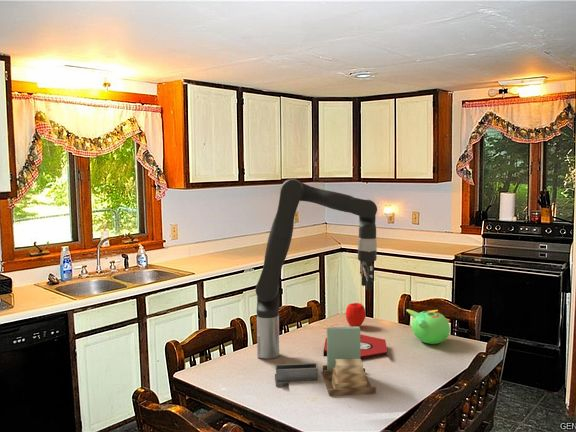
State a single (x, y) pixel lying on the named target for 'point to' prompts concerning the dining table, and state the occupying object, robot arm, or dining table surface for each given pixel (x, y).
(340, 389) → the rack
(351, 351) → the panel
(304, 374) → the stand
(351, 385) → the block
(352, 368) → the offcut top
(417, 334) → the toy bird
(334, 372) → the block
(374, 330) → the dining table surface
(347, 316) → the apple
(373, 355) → the plaque
